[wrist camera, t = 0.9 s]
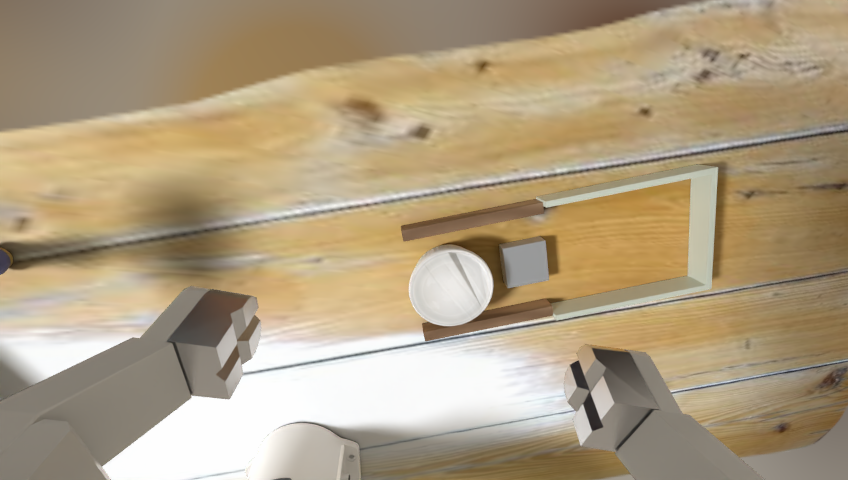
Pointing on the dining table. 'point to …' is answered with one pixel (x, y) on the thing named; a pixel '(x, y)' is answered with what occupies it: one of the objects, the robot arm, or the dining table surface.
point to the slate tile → (524, 262)
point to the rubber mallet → (5, 260)
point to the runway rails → (469, 221)
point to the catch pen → (698, 239)
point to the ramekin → (450, 285)
